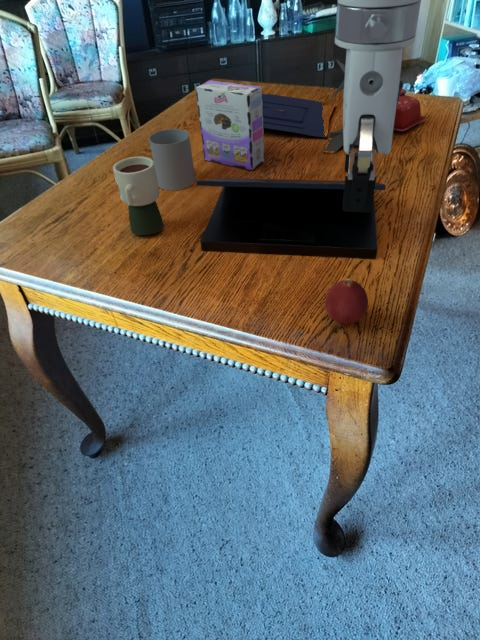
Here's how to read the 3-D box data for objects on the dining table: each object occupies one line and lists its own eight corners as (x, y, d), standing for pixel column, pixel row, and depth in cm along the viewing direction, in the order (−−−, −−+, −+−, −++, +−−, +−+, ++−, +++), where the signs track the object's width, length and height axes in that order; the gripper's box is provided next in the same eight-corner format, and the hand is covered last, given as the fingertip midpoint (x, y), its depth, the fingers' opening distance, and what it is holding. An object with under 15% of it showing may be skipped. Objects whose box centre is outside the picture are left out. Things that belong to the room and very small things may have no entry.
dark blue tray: (233, 99, 138) (233, 86, 135) (334, 114, 134) (337, 101, 131) (210, 131, 121) (210, 116, 118) (325, 149, 117) (327, 134, 114)
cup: (176, 194, 99) (169, 147, 92) (149, 184, 103) (140, 140, 96) (202, 178, 104) (197, 133, 97) (175, 170, 108) (168, 126, 101)
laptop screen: (385, 190, 72) (386, 184, 71) (196, 186, 77) (196, 180, 76) (373, 186, 92) (373, 181, 92) (224, 182, 97) (224, 178, 97)
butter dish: (363, 126, 120) (367, 90, 114) (389, 113, 126) (394, 79, 120) (402, 137, 114) (408, 100, 108) (428, 123, 119) (435, 87, 113)
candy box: (265, 161, 108) (263, 85, 97) (252, 171, 105) (248, 94, 94) (217, 151, 114) (210, 78, 103) (203, 160, 111) (194, 86, 100)
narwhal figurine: (389, 158, 106) (403, 71, 93) (322, 152, 110) (327, 68, 98) (395, 133, 115) (409, 52, 103) (334, 129, 120) (339, 51, 107)
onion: (329, 305, 70) (333, 261, 65) (368, 313, 68) (375, 269, 63) (319, 330, 66) (322, 286, 61) (359, 340, 64) (366, 295, 59)
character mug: (138, 215, 94) (123, 151, 85) (172, 215, 93) (160, 151, 84) (121, 245, 86) (102, 179, 77) (159, 246, 85) (144, 179, 76)
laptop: (375, 259, 78) (377, 248, 76) (201, 250, 83) (200, 240, 81) (372, 195, 94) (373, 185, 92) (225, 191, 99) (224, 182, 97)
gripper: (426, 45, 37) (392, 230, 49) (410, 5, 50) (386, 159, 61) (331, 48, 39) (320, 227, 50) (338, 7, 51) (328, 158, 63)
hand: (357, 190), depth 56 cm, fingers open, 9 cm apart
